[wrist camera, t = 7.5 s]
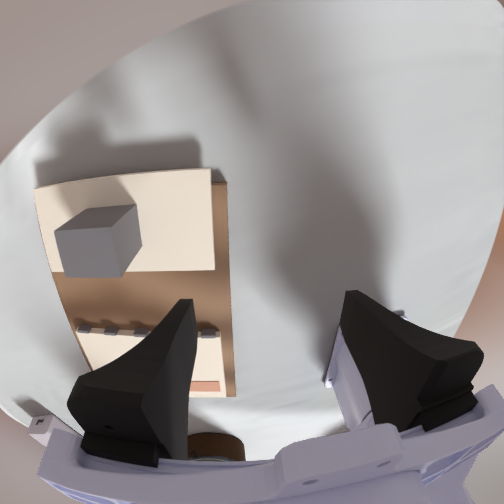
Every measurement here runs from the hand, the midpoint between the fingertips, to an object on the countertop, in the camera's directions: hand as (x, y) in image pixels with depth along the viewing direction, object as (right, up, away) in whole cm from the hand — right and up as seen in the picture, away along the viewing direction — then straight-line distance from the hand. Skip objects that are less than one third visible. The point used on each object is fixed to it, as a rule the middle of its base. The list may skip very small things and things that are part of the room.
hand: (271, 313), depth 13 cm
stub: (-11, +5, +6) cm, 13 cm away
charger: (-34, -32, +23) cm, 52 cm away
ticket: (-11, -8, +12) cm, 18 cm away
